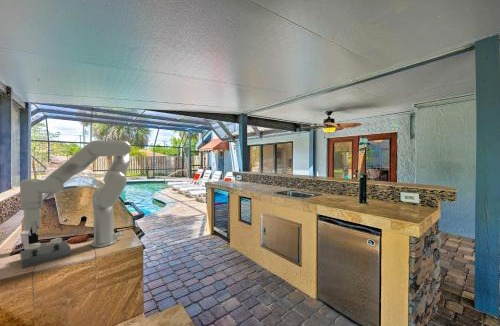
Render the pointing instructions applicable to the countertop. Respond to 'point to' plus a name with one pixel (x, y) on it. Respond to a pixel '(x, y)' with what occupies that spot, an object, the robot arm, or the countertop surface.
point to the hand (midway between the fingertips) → (33, 243)
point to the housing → (44, 254)
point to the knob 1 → (34, 247)
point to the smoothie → (25, 239)
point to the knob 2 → (56, 242)
